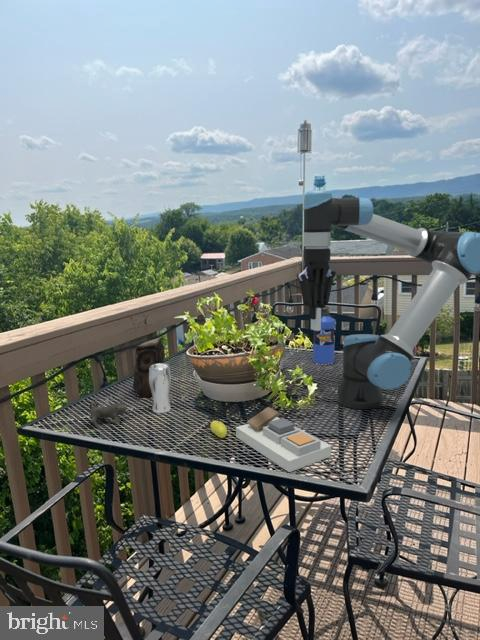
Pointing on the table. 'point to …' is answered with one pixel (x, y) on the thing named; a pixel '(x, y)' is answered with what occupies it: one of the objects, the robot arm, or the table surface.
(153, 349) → the dark brown speaker
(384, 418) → the table surface
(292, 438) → the orange button
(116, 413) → the dog figurine
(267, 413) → the walnut rocker
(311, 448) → the switch housing
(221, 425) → the lemon
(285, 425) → the charcoal button
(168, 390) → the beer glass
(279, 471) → the table surface
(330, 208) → the robot arm
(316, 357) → the water bottle
